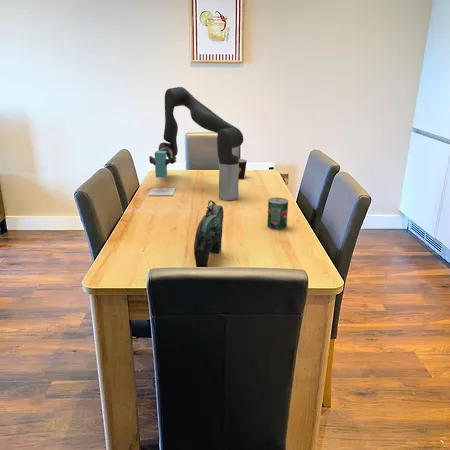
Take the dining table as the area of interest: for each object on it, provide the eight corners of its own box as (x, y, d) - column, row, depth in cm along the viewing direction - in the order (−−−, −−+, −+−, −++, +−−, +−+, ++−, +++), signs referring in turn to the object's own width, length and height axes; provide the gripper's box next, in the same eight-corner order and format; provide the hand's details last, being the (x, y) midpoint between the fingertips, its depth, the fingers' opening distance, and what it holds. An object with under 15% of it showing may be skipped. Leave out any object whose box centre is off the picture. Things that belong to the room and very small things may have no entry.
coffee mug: (249, 177, 254) (249, 160, 250) (241, 180, 247) (241, 162, 243) (231, 174, 260) (231, 157, 256) (223, 177, 253) (223, 160, 249)
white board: (175, 189, 229) (175, 188, 228) (173, 196, 217) (173, 194, 217) (152, 189, 229) (152, 187, 228) (148, 196, 217) (148, 194, 217)
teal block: (167, 174, 222) (166, 151, 218) (165, 177, 218) (165, 153, 214) (157, 174, 222) (156, 150, 218) (155, 177, 218) (154, 153, 213)
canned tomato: (289, 229, 176) (291, 202, 172) (269, 230, 175) (271, 203, 171) (283, 222, 184) (285, 197, 180) (265, 223, 182) (266, 197, 179)
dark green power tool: (210, 247, 159) (210, 193, 152) (227, 249, 157) (228, 194, 150) (190, 270, 141) (189, 210, 134) (210, 273, 139) (209, 212, 132)
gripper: (150, 148, 230) (144, 155, 214) (178, 148, 230) (174, 155, 214) (150, 162, 232) (145, 170, 216) (178, 163, 232) (175, 171, 216)
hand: (160, 163), depth 215 cm, fingers closed on teal block, 5 cm apart
